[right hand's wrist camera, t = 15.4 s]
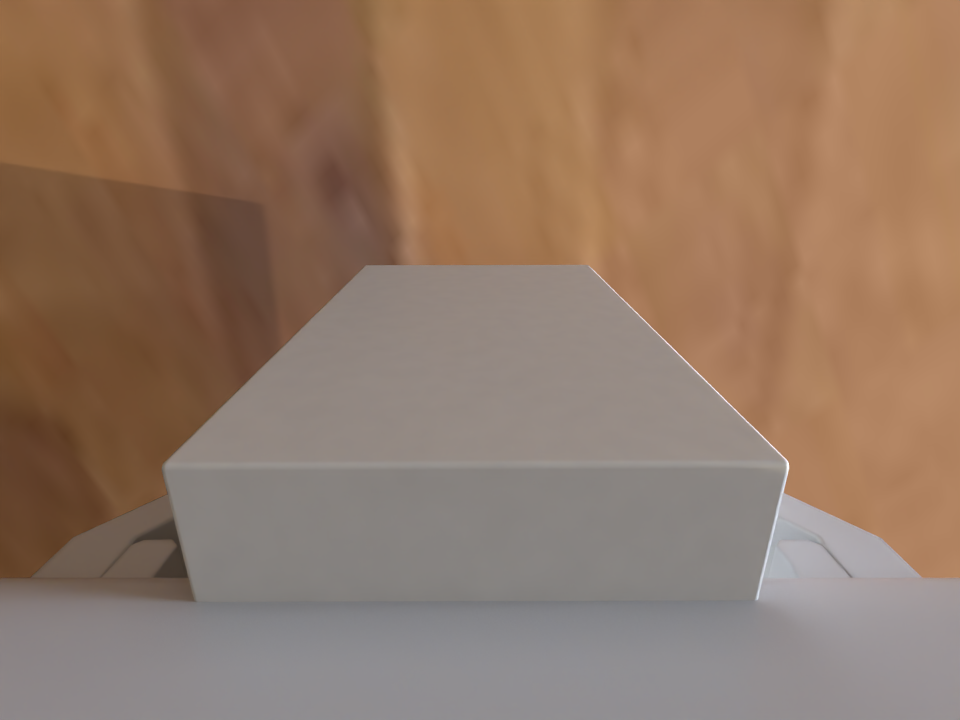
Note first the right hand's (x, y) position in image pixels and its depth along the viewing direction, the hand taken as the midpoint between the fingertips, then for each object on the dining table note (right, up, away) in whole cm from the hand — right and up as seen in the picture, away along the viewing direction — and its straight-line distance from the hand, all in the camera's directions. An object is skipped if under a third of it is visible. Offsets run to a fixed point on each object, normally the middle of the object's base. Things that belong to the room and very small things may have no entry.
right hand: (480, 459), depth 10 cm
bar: (0, -8, +6) cm, 11 cm away
